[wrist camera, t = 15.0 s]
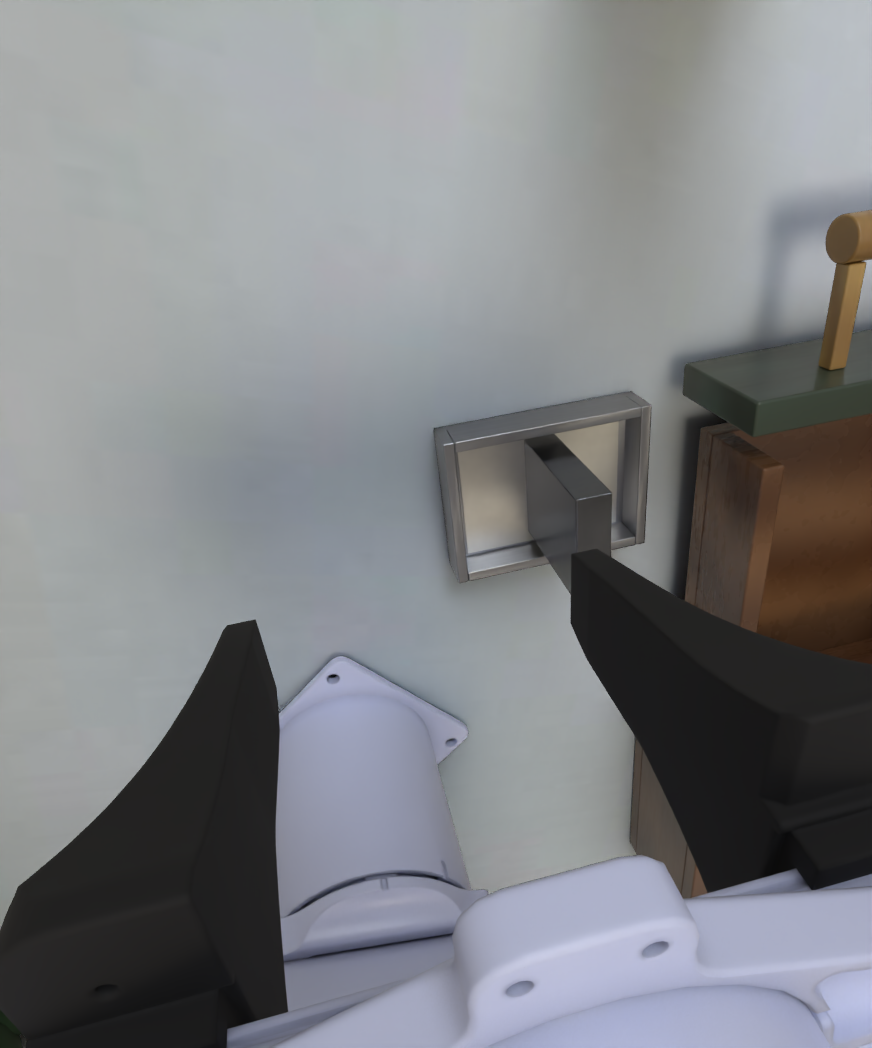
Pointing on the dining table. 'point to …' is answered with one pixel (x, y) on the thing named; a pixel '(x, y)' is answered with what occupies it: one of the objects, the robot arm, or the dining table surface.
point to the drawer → (791, 476)
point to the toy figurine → (9, 1033)
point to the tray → (544, 485)
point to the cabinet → (664, 826)
